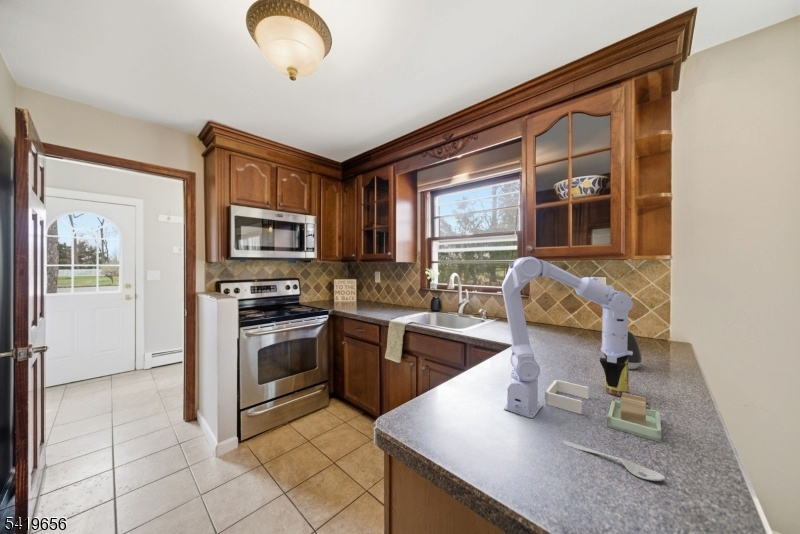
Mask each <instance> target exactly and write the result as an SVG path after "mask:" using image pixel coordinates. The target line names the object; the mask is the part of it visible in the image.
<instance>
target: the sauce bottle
mask: <svg viewBox="0 0 800 534" xmlns="http://www.w3.org/2000/svg"><path fill="white" fill-rule="evenodd" d="M604 358H605V359H606V357H605V356H604ZM624 363H626V366H625V367H624V368H623V370H622V372H621V376H620V379H619V383H618V387H617V388H616V387H611V386H608V385H607V381H606V376H605V375H604V387H605V391H606V393H608V394H610V395H613V396H616V397H621V396H622V392H623V393H628V394H629V390H630V389H629V386H630V385H629V380H630V379H629V378H630V377H629V369H628V357H627V359H626V360H625V362H624Z"/></svg>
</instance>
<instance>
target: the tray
mask: <svg viewBox="0 0 800 534" xmlns="http://www.w3.org/2000/svg"><path fill="white" fill-rule="evenodd" d="M608 410H609V411H608V414H607V427H608V428H610V429H614V430H618V431H620V432H624V433H628V434H631V435H634V436H637V437H640V438H644V439H648V440H652V441H654V442H658V443H662V425H661V424H662V423H661V414H660V410H657V409H656V410H655V409H652V408H651V409H650V410H649V409H646V426H643V425H639V424H635V423H632V422H628V421H625V420H621V400H620V401H619V400H617V399H616V400H615V399H611V403H610V406H609V409H608Z"/></svg>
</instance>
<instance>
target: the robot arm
mask: <svg viewBox="0 0 800 534" xmlns="http://www.w3.org/2000/svg"><path fill="white" fill-rule="evenodd" d="M539 277H540V278H547V277H548V278H551V279H553V280H554V281H558V282H559V283H562V284H564V285H566V286H569V287H571V288H573V289H574V291H575V293H576V295H577V296H579V297H582V298H584V299H586V300H588V301H590V302H592V303H595V304H596V305H599V306H600V307H601V308H602V323H601V327H602V328H601V346H600V351H601V352H602V353H603V355H604V358H603V357H600V358H599V363H600V365H601V366H602V369H603V371H604V377H605V376H606V381H607V385H608V386H611V387H616V388H617V387H618V383H619V379H620V376H621V372H622V370H623V368H624V367H625V366H626V363H624V362H625V360H626V359H627V357H628V355H633V352H632V351H628V350H627V339H628V331H629V329H628V326H629V313H630V311H631V310H632V309H633V307H634V302H633V301H632V298H631V297H630V295H629V294H628V293H626V292H625V291H620V290H619V291H618V290H615V286H613V285H610V284H609V285H606V284H604V283H602V282H600V281H598V280H599V278H597V277H594V276H591V277H589V276H584V277H582V278H581V277H578V276H577V275H575V274H573V273H570V272H569V271H567V270H564V269H563V268H560V267H558V266H556V265H555V264H552V263H551V262H547V261H545V260H542V259H539V258H537V257H534V256H526V257H519V258H517V259H515V260H513V262H512V263H511V264H510V265H509V266H508V270H507V273H506V275H505V277H504V280H503V281H502V284H501V290H502V296H503V297H502V298H503V301H504V308H505V312H506V318H507V324H508V328H509V330H508V331H509V334H510V339H511V355H510V364H511V367H513V369H512V371H511V372H510V374H511V375H510V376H511V377H510V378H511V379H510V384H509V385H508V387H507V394H506V395H507V397H506V398H507V400H506V401H507V402H506V403H507V404H506V405H504V407H503V410H506V411H508V412H512V413H515V414H517V415H521V416H524V417H527V418H530V419H534V418H535V417H536V416H537V414H538V412H539V411H540V410H541V409H542V407H543V405H542V403H538V396H539V395H538V394H539V393H538V391H539V386H538V385H539V376H540V374H541V367H540V365H539V363H538V362H537V361H536V359H535V354H534V352H533V349H532V346H531V344H530V343H531V342H530V339H529V332H528V327H527V321H526V315H525V309H524V304H523V300H522V294H521V291H522V290H523V289H524V288H525V287H526V285H527V284H528V283H530V282H532V281H533V280H535V279H536V278H539ZM605 357H606V359H605Z"/></svg>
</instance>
